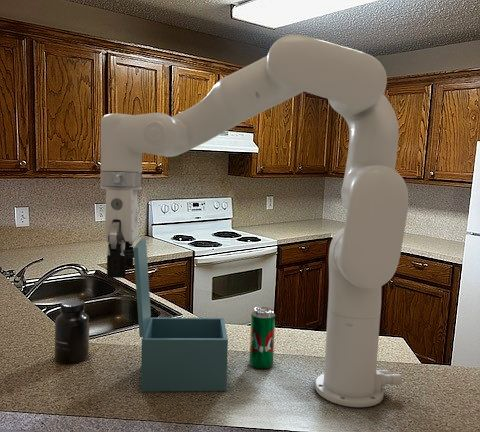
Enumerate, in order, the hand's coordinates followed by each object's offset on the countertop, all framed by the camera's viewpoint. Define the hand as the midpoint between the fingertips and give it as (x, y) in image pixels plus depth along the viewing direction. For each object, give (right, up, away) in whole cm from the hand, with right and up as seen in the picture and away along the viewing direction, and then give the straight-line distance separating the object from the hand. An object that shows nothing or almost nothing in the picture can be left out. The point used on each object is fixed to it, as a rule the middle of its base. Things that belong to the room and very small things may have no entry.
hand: (120, 271), depth 86 cm
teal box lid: (+4, -3, +1) cm, 5 cm away
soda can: (+27, -21, +10) cm, 36 cm away
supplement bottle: (-13, -20, +10) cm, 25 cm away
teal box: (+12, -21, +3) cm, 24 cm away
